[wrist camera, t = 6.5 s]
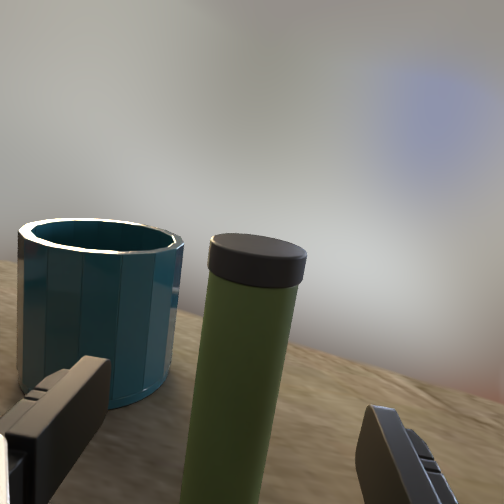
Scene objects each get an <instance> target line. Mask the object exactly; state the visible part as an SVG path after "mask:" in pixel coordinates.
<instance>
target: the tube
mask: <svg viewBox="0 0 504 504" xmlns="http://www.w3.org/2000/svg"><path fill="white" fill-rule="evenodd" d="M306 259H307V252H306V251H305V250H304V249H303V248H301V247H299V246H297V245H295V244H292V243H289V242H286V241H282V240H278V239H275V238H270V237H265V236H259V235H251V234H239V233H226V234H219V235H215V236H213V237H212V238H211V240H210V246H209V254H208V262H207V266H208V269H209V278H208V286H207V294H206V302H205V310H204V317H203V325H202V332H201V340H200V348H199V356H198V363H197V371H196V379H195V387H194V394H193V402H192V410H191V418H190V425H189V433H188V441H187V449H186V456H185V464H184V472H183V480H182V487H181V495H180V503H179V504H258V499H259V494H260V489H261V483H262V478H263V473H264V467H265V462H266V456H267V451H268V446H269V440H270V435H271V430H272V424H273V419H274V413H275V408H276V403H277V397H278V392H279V387H280V381H281V376H282V370H283V365H284V360H285V354H286V349H287V344H288V338H289V333H290V328H291V322H292V316H293V311H294V306H295V300H296V295H297V290H298V285H299V284H300V283H301V281H302V280H303V275H304V269H305V264H306Z"/></svg>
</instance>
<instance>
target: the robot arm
mask: <svg viewBox="0 0 504 504" xmlns="http://www.w3.org/2000/svg"><path fill="white" fill-rule="evenodd" d="M110 377H111V361H110V360H109V359H105V358H99V357H93V356H87V355H85V356H83V357H82V358H81V359H80V360H79V361H78V362H77V363H76V364H75V365H74V366H73V367H72V368H71V369H70V370H69V369H61V370H59V371H57V372H55V373H53V374H51V375H49V376H47V377H45V378H44V379H43V380H42V381H41V382H40V383H39V384H38V385H37V386H35V387H34V390H31V391H30V392H29V393H28V394H27V395H25V396H24V399H21V400H20V401H19V402H18V403H17V404H15V405H14V406H13V407H12V408H11V409H10V410H9V411H8V412H7V413H5V414H4V415H3V416H2V417H1V418H0V504H47V503H48V502H49V500H50V499H51V497H52V496H53V495H54V493H55V492H56V490H57V489H58V487H59V486H60V484H61V483H62V481H63V480H64V479H65V477H66V476H67V474H68V473H69V471H70V470H71V468H72V467H73V465H74V464H75V462H76V461H77V460H78V458H79V457H80V455H81V454H82V452H83V451H84V449H85V448H86V446H87V445H88V444H89V442H90V441H91V439H92V438H93V436H94V435H95V433H96V432H97V430H98V429H99V428H100V426H101V424H102V423H103V421H104V418H105V416H106V413H107V409H108V404H109V391H110ZM355 464H356V471H357V475H358V479H359V483H360V487H361V491H362V494H363V498H364V502H365V504H459V503H458V501H457V500H456V498H455V496H454V494H453V492H452V490H451V488H450V487H449V485H448V483H447V481H446V479H445V477H444V476H443V474H441V470H440V468H439V466H438V464H437V463H436V461H434V457H433V455H432V453H431V452H430V450H429V448H428V446H427V444H426V443H425V442H424V441H423V440H422V439H421V438H420V437H419V436H418V435H417V434H416V433H415V432H414V431H413V430H411V429H406V428H404V426H403V424H402V422H401V420H400V418H399V416H398V414H397V412H396V410H395V409H392V408H387V407H381V406H375V405H368V406H367V408H366V411H365V415H364V419H363V423H362V427H361V431H360V435H359V439H358V443H357V447H356V454H355Z"/></svg>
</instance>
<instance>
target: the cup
mask: <svg viewBox="0 0 504 504" xmlns="http://www.w3.org/2000/svg"><path fill="white" fill-rule="evenodd" d="M183 250H184V242H183V240H182V238H181V237H180V236H178V235H176V234H174V233H171V232H169V231H167V230H163V229H159V228H156V227H152V226H147V225H142V224H135V223H130V222H123V221H113V220H102V219H56V220H44V221H39V222H34V223H30V224H26V225H25V226H23V227H22V228H21V229H19V230H18V267H17V371H18V382H19V386H20V387H21V389H22V391H23V392H24V393H25V394H26V395H27V394H28V393H29V392H30V391H31V390H34V387H35V386H37V385H38V384H39V383H40V382H41V381H42V380H43V379H44V378H45V377H47V376H49V375H51V374H53V373H55V372H57V371H59V370H61V369H69V370H70V369H71V368H72V367H73V366H74V365H75V364H76V363H77V362H78V361H79V360H80V359H81V358H82V357H83V356H85V355H87V356H93V357H99V358H105V359H109V360H110V361H111V377H110V391H109V404H108V409H107V410H109V409H115V408H119V407H123V406H126V405H129V404H132V403H135V402H137V401H139V400H141V399H143V398H145V397H147V396H149V395H150V394H152V393H153V392H154V391H156V390H157V389H158V388H159V387H160V386H161V385H162V384H163V382H164V381H165V380H166V378H167V375H168V372H169V366H170V364H171V358H172V349H173V340H174V331H175V322H176V313H177V304H178V295H179V285H180V277H181V268H182V258H183Z"/></svg>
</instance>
